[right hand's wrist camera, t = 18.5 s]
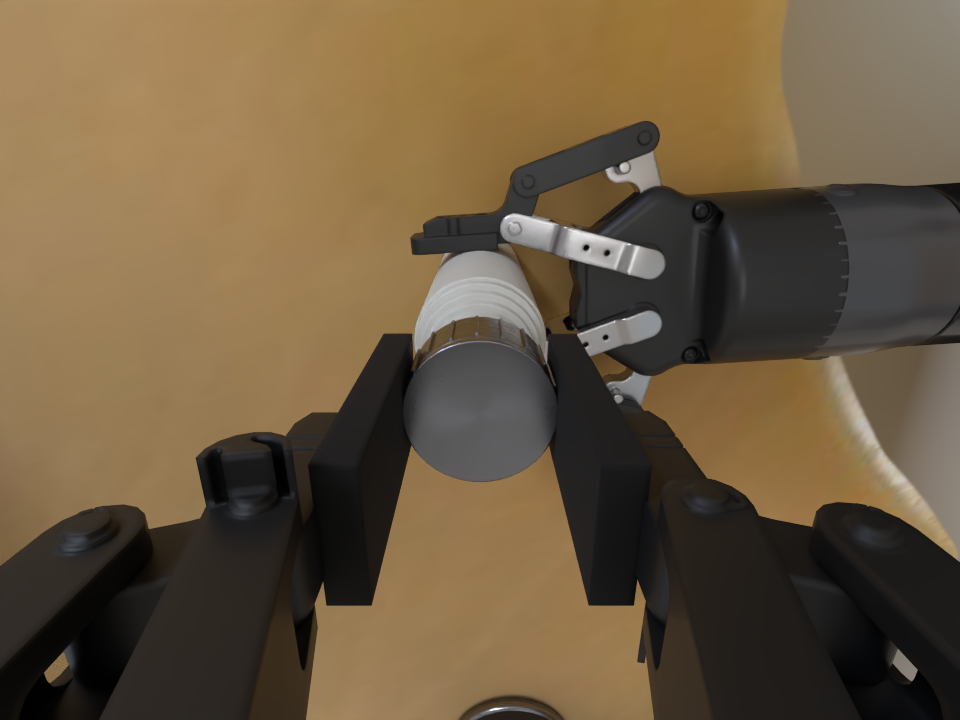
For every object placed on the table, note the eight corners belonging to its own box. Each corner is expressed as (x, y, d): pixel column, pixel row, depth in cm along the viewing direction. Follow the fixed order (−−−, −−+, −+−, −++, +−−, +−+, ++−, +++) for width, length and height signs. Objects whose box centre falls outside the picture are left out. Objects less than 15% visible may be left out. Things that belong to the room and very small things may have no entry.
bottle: (425, 280, 29) (357, 424, 13) (470, 214, 28) (456, 281, 12) (489, 323, 30) (500, 509, 14) (534, 261, 29) (606, 384, 13)
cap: (573, 344, 14) (588, 372, 12) (517, 460, 15) (523, 503, 13) (438, 292, 13) (431, 313, 11) (392, 418, 15) (379, 455, 13)
